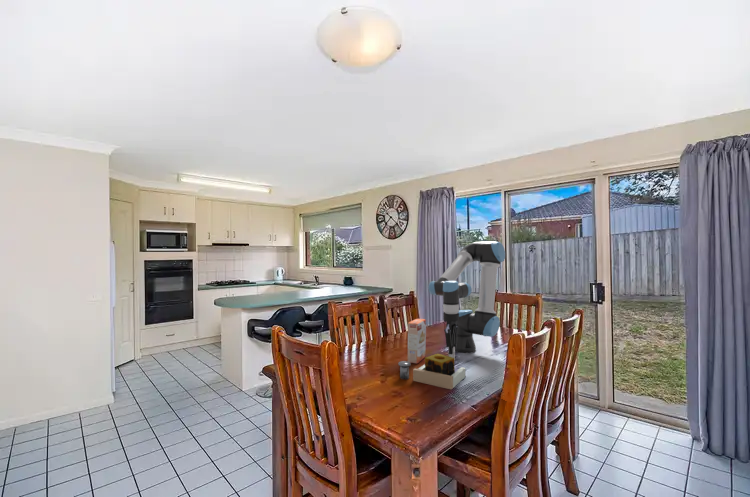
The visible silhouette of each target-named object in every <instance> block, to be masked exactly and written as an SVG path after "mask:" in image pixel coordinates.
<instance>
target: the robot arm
mask: <svg viewBox="0 0 750 497" xmlns="http://www.w3.org/2000/svg"><path fill="white" fill-rule="evenodd" d="M505 259H506V250H505V247H504V245H503V243H501V241H493V240H492V241H475V242H471V243H469V244H467V245H465V246H464V247H462V248H461V249H460V251H459V252H458V253H457V256H456V258H455V259H454V260H453V262H452V263H451V264H450V265H449V266H448V268H447V269H446V270H445V271H444V272H443V273H442V275H440V277H439V278H438V279H437V281H436V280H432V281H430V282H429V284H428V287H427V288H428V292H429V294H430V295H433V296H437V297H439V296H440V297H442V298H443V299H442V304H443V305H442V308H443V309H442V310H443V313H442V314H443V318H442V319H443V320H444V321H445V322H446V323H445V328H444V329H443V330H444V335H445V345H446V348H447V349H448V356H449V357H453V358H454V361H455V360H456V353H460V354H461V353H463V354H468V353H469V354H470V353H474V352H477V350H476V348H477V347H476V343H475V340H474V337H473V335H478V336H483V337H490V338H491V337H495V336H496V335H497V333H498V331H499V329H500V324H501V321H500V318H499V317H498V315H497V312H496V311H495V300H496V299H495V298H496V288H497V286H496V285H497V277H498V268H499V267H500V266H501V263H503V262H504V261H505ZM474 262H479V265H480V267H481V273H480V283H479V294H478V295H479V296H478V305H477V308H475V310H474V312H473V310H472V309H460V302H459V301H460V300H459V299H464V298H467V297H469V296H470V295H471V294H472V289H473V288H472V286H471V284H469V283H468V282H463V281H461V282H459V281H458V280H457V279H458V278H459V277H460V275H461V274H462V273H463V272H464V270H465V269H466V268H467V267H468V266H469V265H471V264H473V263H474Z"/></svg>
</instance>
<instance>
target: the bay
mask: <svg viewBox="0 0 750 497" xmlns="http://www.w3.org/2000/svg"><path fill="white" fill-rule="evenodd" d="M412 378H413V379H412V381H413V382H417V383H422V384H427V385H430V386H433V387H438V388H442V389H448V390H452V389H454V388H456V386H457V385H458V384H459V383H460V382H462V381H463V380H464V379H465V378H466V367H462V366H461V367H460V368H458V369H457V370H456V371H455V373H454V374H452V375H451V376H449V375H445V374H440V373H435V372H430V371H426V370H425V364H423V365H421V366H420V367H418V368H413V370H412Z"/></svg>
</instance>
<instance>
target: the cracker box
mask: <svg viewBox="0 0 750 497" xmlns="http://www.w3.org/2000/svg"><path fill="white" fill-rule="evenodd" d="M426 337H427V319H425V318H415V319H413V320H411V321H409V322H408V323H407V361H408V362H410V363H411V364H418V363H420V362H421V361H423V359H425V357H426V352H427V350H426V348H427V346H426V343H427V342H426V341H427V340H426V339H427V338H426Z"/></svg>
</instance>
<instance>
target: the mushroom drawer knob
mask: <svg viewBox="0 0 750 497" xmlns="http://www.w3.org/2000/svg"><path fill="white" fill-rule="evenodd" d="M411 364H412V363H410V362H408V360H407V361H406V360H401V361H398V366H399V371H400V372H399V377H400V379H401V380H408V379H409V378H410V367H411Z"/></svg>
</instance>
